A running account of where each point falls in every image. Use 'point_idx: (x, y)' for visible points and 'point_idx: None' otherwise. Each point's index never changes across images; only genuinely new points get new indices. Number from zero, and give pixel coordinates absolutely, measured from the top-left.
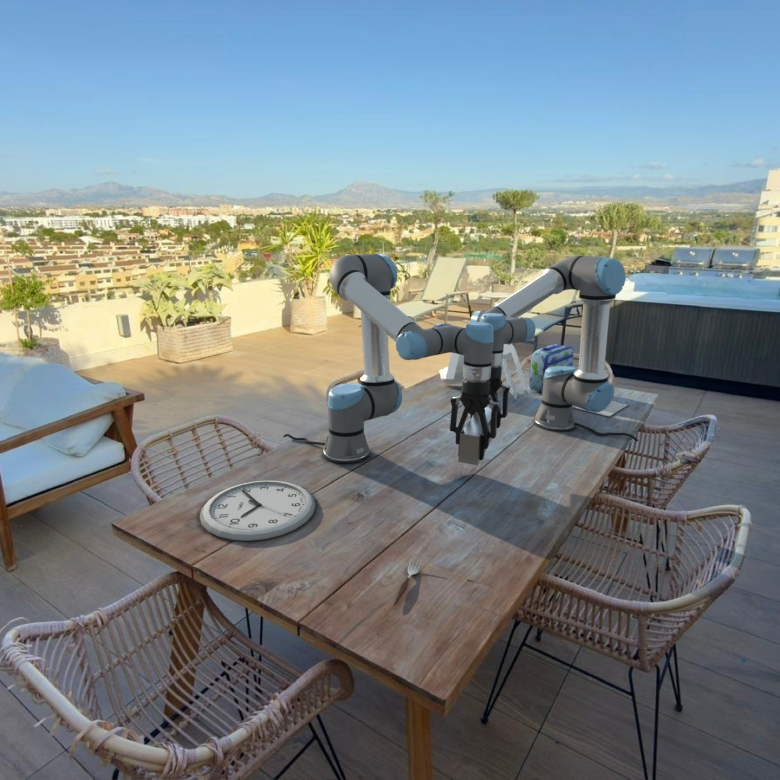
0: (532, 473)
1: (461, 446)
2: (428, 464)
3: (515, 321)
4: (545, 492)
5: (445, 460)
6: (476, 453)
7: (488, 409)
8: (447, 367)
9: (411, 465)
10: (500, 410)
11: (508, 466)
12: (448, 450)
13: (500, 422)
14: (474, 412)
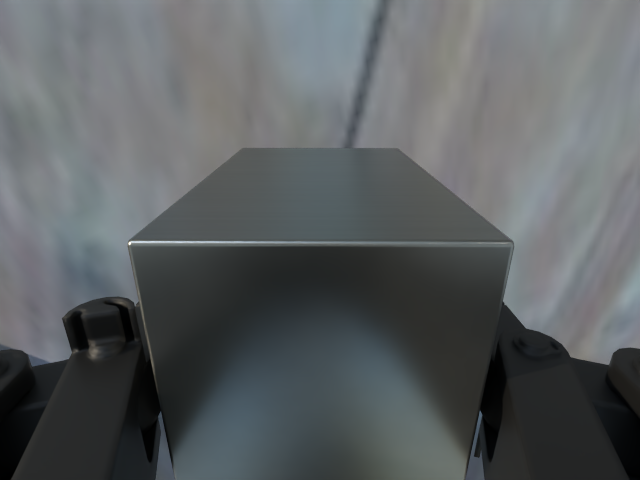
0: (575, 187)
1: None
2: (90, 286)
3: None
4: (607, 335)
5: (137, 215)
6: None
7: (344, 357)
8: None
9: (32, 322)
10: (593, 406)
11: (454, 154)
12: (88, 76)
13: (505, 311)
14: (154, 460)
